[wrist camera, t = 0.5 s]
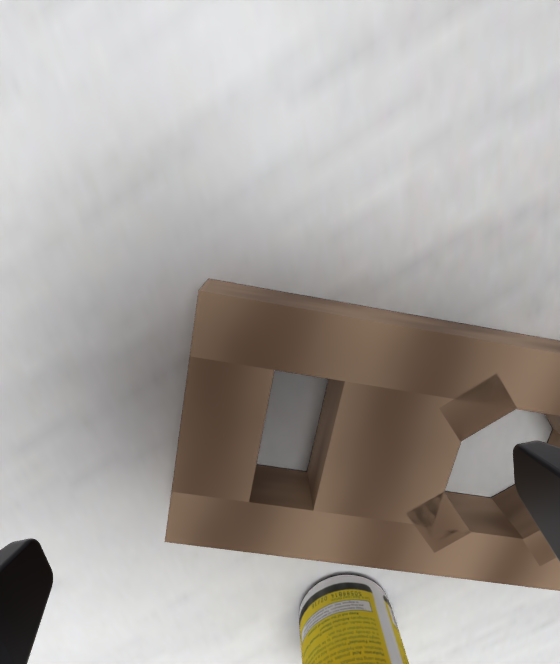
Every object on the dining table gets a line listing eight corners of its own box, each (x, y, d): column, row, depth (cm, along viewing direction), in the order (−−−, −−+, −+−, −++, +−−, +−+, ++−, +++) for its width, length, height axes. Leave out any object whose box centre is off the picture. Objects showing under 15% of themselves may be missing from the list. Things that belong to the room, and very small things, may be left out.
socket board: (628, 352, 21) (686, 375, 18) (543, 547, 24) (582, 593, 21) (208, 278, 19) (198, 290, 16) (177, 499, 22) (164, 541, 19)
